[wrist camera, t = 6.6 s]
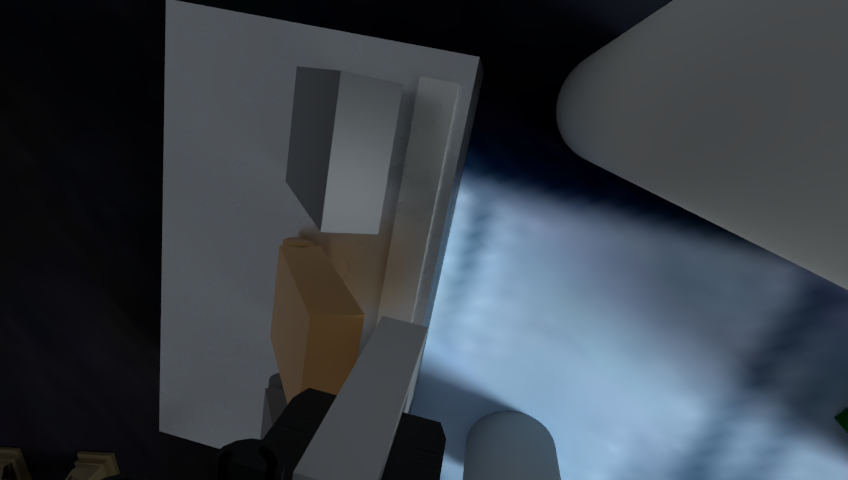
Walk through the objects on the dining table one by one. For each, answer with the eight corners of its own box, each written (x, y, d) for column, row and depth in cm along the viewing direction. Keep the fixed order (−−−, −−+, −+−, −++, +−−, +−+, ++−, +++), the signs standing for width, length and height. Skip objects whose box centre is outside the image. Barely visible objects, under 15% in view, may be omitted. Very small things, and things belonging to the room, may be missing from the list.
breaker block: (484, 70, 20) (479, 55, 15) (407, 428, 26) (384, 503, 21) (239, 24, 21) (160, -4, 16) (218, 376, 27) (154, 434, 22)
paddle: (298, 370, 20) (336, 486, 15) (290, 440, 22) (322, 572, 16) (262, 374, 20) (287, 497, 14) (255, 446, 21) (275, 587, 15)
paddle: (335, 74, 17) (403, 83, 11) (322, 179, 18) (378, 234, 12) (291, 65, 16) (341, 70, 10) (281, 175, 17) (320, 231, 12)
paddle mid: (315, 238, 19) (364, 314, 13) (304, 322, 20) (346, 426, 14) (275, 236, 18) (310, 317, 12) (267, 324, 19) (295, 434, 13)
